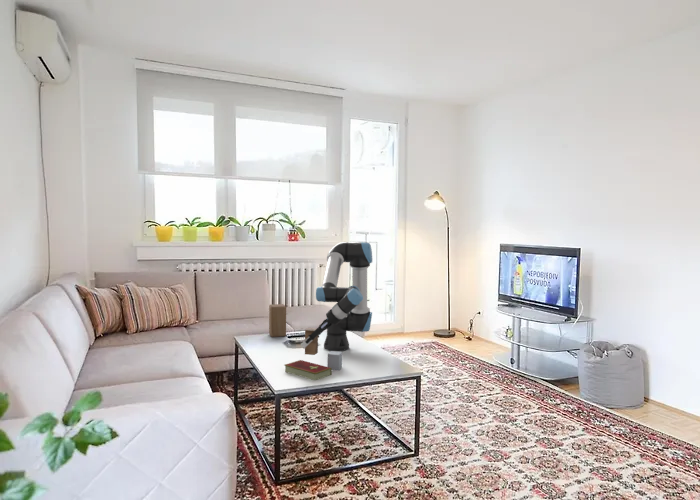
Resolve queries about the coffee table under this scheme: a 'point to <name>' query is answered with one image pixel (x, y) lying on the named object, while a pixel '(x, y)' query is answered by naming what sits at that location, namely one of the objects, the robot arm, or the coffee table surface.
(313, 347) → the walnut block
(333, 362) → the grey block
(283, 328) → the block
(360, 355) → the coffee table surface
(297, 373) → the hardcover book
